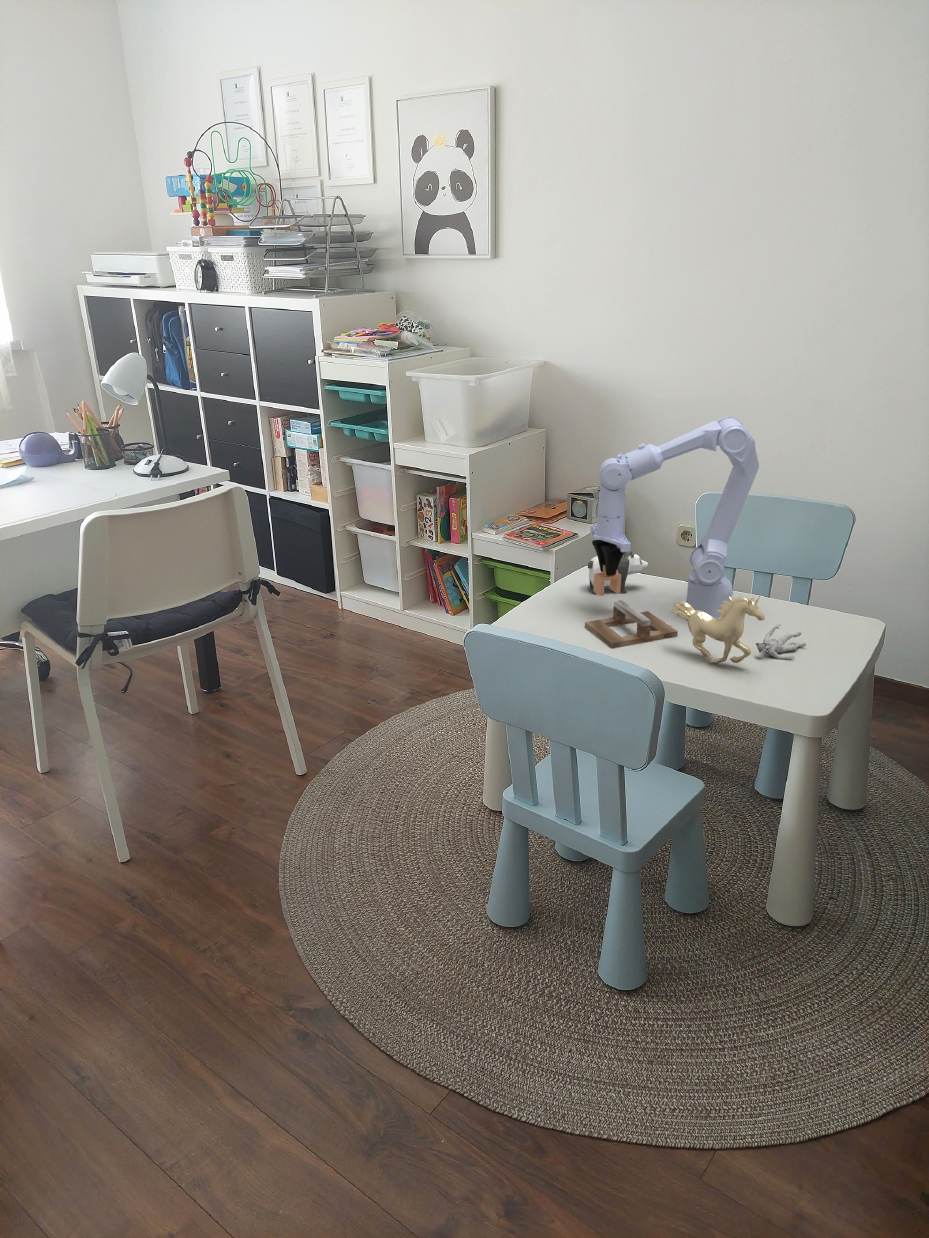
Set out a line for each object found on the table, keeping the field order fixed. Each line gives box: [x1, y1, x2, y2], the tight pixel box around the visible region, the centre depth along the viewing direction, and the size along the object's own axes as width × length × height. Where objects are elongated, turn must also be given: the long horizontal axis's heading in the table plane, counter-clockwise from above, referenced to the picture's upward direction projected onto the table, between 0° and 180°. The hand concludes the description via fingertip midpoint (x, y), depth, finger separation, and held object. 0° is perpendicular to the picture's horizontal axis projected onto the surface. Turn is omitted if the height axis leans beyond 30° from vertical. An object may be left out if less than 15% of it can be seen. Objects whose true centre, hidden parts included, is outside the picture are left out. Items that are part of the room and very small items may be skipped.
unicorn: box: [670, 593, 766, 665], centre depth 177 cm, size 20×4×17 cm, turn 47°
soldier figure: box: [755, 623, 807, 660], centre depth 183 cm, size 8×5×12 cm
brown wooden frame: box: [584, 599, 679, 649], centre depth 193 cm, size 16×12×5 cm
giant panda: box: [587, 551, 649, 595], centre depth 215 cm, size 15×6×10 cm, turn 94°
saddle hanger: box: [594, 565, 621, 597], centre depth 200 cm, size 5×3×6 cm, turn 111°
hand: (608, 572), depth 200 cm, fingers closed on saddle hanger, 2 cm apart
